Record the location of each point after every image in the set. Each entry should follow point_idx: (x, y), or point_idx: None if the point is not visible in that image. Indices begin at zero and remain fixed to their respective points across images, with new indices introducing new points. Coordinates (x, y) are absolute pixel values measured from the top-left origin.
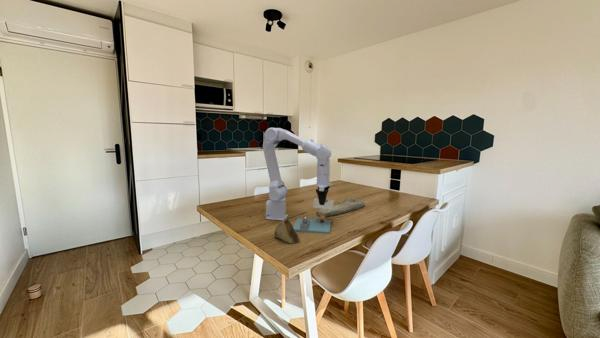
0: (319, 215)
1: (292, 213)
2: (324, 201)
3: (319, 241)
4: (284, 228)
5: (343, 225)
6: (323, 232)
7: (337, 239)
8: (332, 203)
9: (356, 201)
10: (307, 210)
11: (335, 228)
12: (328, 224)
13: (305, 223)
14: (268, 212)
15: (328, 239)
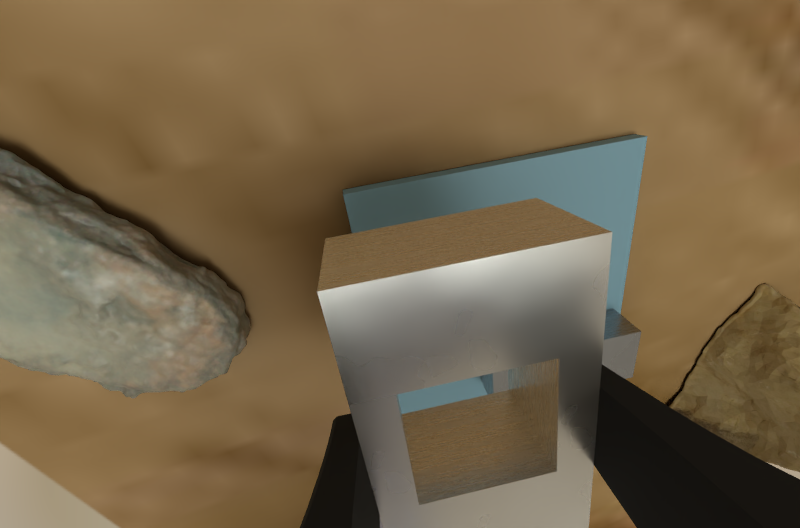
0: (247, 334)
1: (277, 500)
2: (659, 406)
3: (770, 173)
4: None
5: (389, 26)
6: (632, 187)
7: (753, 32)
8: (610, 249)
9: None
10: (131, 457)
11: (501, 105)
12: (466, 190)
13: (610, 354)
14: None
15: (744, 114)
